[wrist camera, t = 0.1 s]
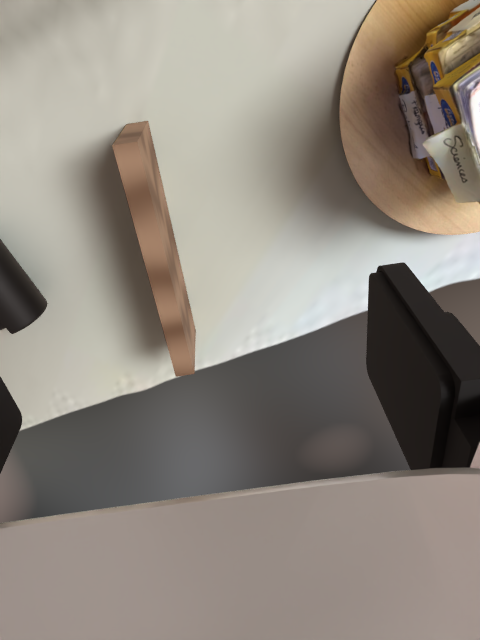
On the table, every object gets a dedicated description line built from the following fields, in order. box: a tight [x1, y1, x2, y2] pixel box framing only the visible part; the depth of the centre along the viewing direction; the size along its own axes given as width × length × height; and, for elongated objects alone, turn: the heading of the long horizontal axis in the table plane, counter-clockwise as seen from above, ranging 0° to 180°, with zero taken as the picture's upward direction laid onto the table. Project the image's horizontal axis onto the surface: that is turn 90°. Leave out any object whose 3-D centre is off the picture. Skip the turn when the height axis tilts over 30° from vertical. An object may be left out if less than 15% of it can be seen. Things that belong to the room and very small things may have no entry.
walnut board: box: [112, 121, 196, 376], centre depth 46 cm, size 24×2×8 cm, turn 7°
